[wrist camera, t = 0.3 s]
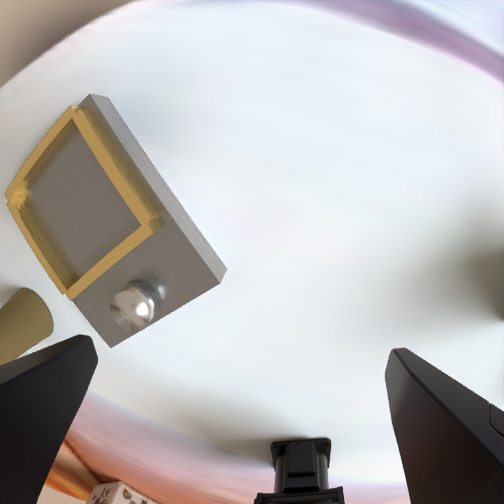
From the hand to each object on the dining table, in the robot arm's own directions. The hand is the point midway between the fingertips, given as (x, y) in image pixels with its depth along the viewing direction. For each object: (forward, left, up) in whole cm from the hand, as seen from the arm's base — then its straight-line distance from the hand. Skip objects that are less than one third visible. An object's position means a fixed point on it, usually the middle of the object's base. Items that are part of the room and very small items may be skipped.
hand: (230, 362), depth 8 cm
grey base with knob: (+2, +12, -14) cm, 19 cm away
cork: (-6, +25, -14) cm, 30 cm away
